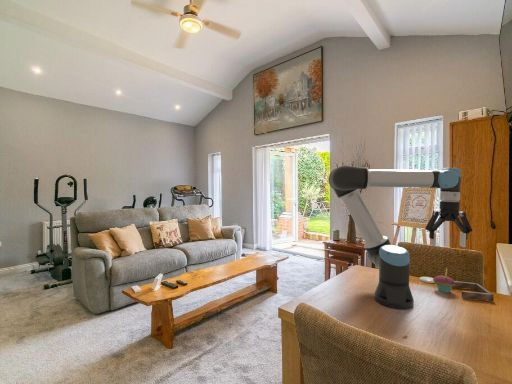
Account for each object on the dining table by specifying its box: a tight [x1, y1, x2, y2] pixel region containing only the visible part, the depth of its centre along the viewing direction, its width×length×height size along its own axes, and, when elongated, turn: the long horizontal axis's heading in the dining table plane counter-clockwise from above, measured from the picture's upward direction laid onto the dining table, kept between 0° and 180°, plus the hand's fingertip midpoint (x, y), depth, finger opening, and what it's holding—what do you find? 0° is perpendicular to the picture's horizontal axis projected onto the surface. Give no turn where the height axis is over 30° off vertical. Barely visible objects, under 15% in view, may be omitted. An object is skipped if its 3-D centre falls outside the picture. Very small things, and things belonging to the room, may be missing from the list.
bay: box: [453, 280, 495, 302], centre depth 122 cm, size 11×14×3 cm
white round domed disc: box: [419, 276, 436, 284], centre depth 139 cm, size 8×8×1 cm
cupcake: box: [432, 268, 455, 294], centre depth 125 cm, size 9×8×12 cm
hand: (447, 246), depth 123 cm, fingers open, 13 cm apart
